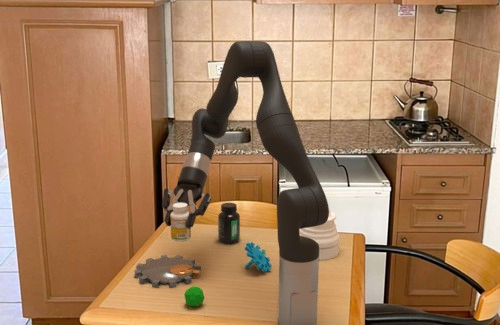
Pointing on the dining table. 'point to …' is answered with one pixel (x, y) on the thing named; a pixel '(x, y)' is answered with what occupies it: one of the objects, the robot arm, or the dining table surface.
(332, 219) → the honey pot
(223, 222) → the supplement bottle
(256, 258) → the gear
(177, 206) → the supplement bottle
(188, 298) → the polyhedron
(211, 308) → the dining table surface
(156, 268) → the sprocket plate
